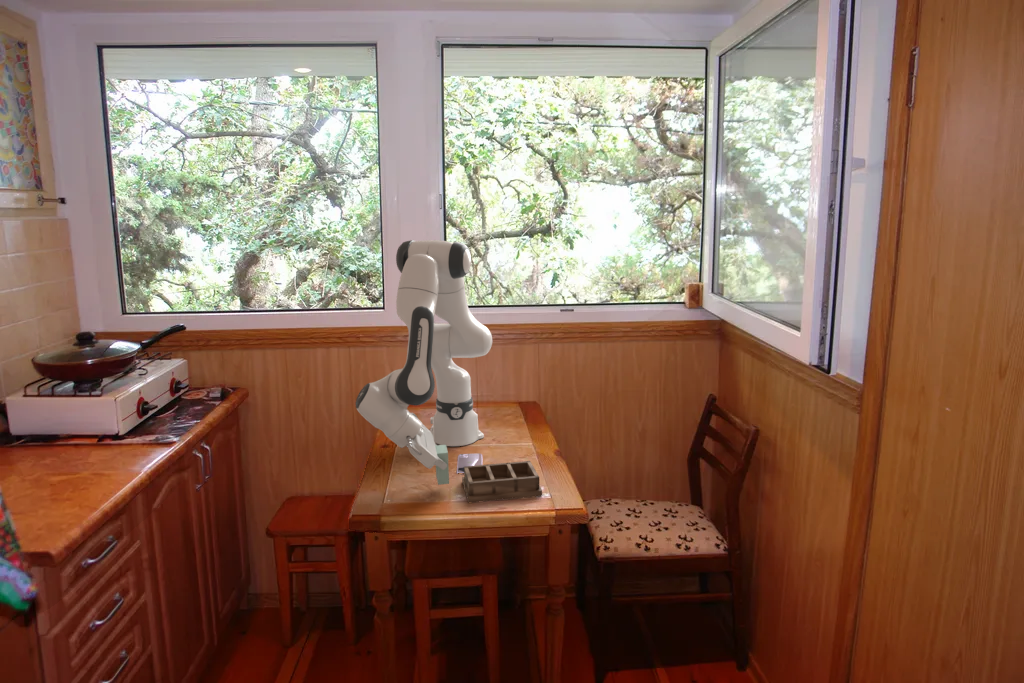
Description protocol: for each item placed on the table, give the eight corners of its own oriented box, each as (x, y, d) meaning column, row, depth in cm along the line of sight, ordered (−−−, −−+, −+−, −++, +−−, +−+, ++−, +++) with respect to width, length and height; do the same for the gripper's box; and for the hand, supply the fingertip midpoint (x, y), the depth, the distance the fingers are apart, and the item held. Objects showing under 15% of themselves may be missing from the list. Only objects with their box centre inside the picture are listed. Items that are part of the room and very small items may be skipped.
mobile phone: (456, 472, 208) (457, 453, 223) (456, 475, 209) (458, 456, 223) (482, 471, 209) (482, 452, 223) (482, 474, 209) (482, 455, 223)
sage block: (436, 475, 199) (435, 445, 197) (447, 474, 200) (445, 444, 198) (438, 484, 194) (436, 453, 192) (449, 483, 194) (448, 452, 192)
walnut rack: (462, 481, 203) (461, 465, 202) (531, 475, 206) (531, 459, 205) (468, 502, 189) (468, 485, 188) (542, 495, 193) (542, 478, 192)
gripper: (416, 435, 182) (456, 468, 186) (412, 410, 201) (448, 440, 205) (399, 453, 182) (439, 485, 186) (397, 426, 201) (433, 456, 205)
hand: (444, 461), depth 196 cm, fingers closed on sage block, 6 cm apart
